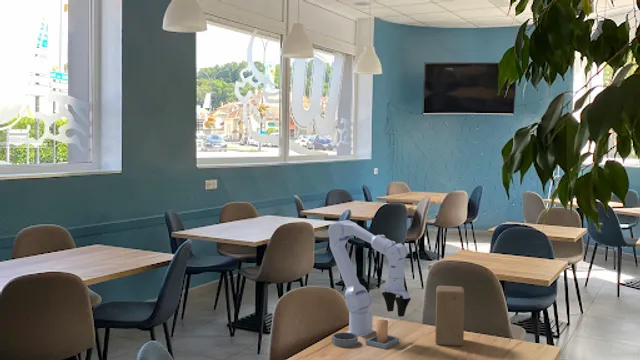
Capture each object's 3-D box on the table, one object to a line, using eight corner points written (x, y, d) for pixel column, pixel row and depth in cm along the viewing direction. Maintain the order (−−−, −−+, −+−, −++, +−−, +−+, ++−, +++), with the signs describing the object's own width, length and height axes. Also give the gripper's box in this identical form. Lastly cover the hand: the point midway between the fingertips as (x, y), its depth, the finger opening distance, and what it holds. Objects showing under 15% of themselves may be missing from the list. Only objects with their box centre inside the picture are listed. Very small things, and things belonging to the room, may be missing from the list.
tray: (379, 339, 229) (379, 333, 229) (398, 343, 224) (398, 337, 224) (365, 345, 221) (365, 340, 221) (385, 350, 216) (385, 344, 216)
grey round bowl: (341, 338, 229) (341, 330, 229) (362, 343, 223) (362, 335, 223) (327, 345, 221) (327, 336, 221) (348, 350, 216) (348, 341, 216)
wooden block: (463, 347, 221) (464, 292, 220) (435, 345, 223) (436, 290, 222) (462, 338, 230) (463, 286, 229) (435, 336, 232) (436, 284, 231)
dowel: (380, 340, 225) (380, 318, 225) (389, 342, 223) (389, 320, 222) (374, 343, 222) (374, 321, 221) (384, 345, 220) (384, 323, 219)
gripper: (377, 274, 230) (376, 310, 231) (397, 281, 217) (396, 319, 217) (393, 272, 233) (392, 308, 233) (414, 280, 220) (413, 317, 220)
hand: (395, 313), depth 226 cm, fingers open, 7 cm apart
